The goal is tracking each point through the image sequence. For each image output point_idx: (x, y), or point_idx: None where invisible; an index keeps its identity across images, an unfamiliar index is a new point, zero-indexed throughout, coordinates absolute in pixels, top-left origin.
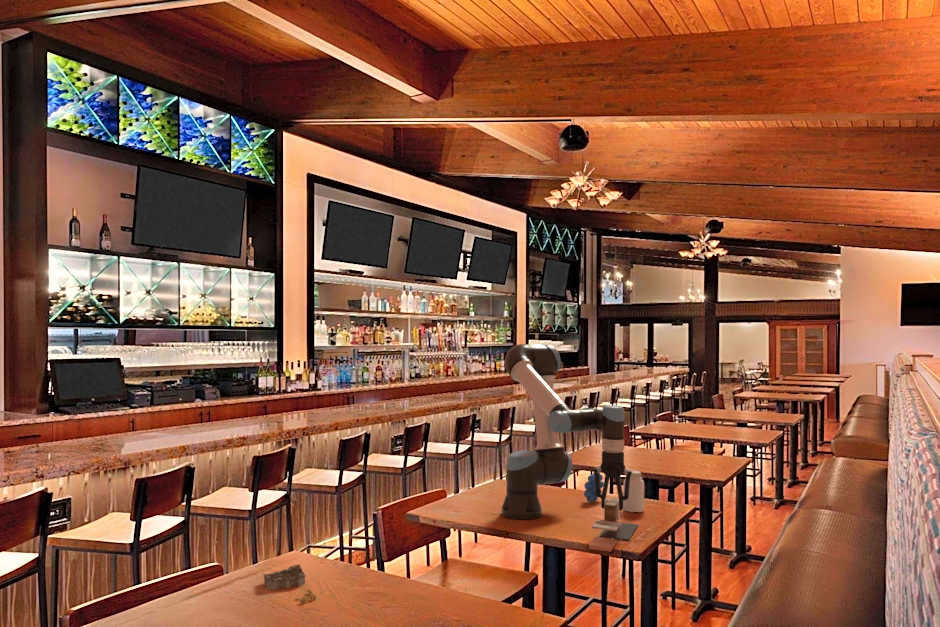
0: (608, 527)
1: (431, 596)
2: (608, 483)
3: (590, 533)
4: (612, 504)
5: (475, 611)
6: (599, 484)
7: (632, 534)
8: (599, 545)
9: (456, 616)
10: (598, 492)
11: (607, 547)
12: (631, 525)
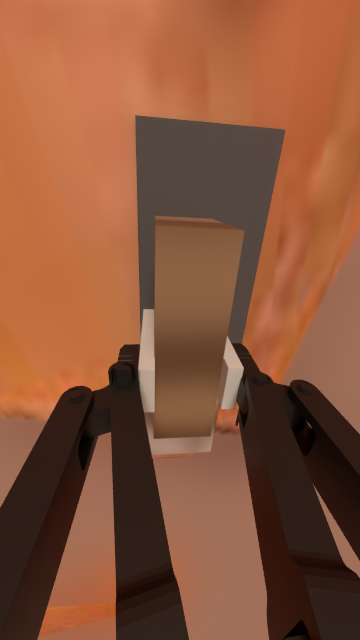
0: (183, 446)
1: None
2: (160, 507)
3: (100, 331)
4: (194, 418)
5: (81, 617)
6: (63, 530)
7: (248, 302)
8: (165, 454)
9: (71, 624)
10: (83, 458)
11: (185, 455)
12: (250, 169)
